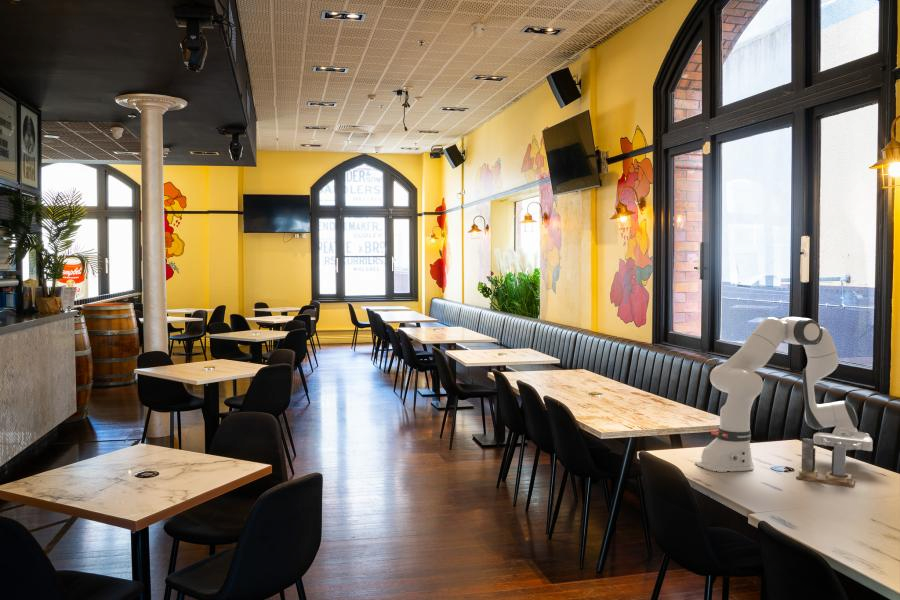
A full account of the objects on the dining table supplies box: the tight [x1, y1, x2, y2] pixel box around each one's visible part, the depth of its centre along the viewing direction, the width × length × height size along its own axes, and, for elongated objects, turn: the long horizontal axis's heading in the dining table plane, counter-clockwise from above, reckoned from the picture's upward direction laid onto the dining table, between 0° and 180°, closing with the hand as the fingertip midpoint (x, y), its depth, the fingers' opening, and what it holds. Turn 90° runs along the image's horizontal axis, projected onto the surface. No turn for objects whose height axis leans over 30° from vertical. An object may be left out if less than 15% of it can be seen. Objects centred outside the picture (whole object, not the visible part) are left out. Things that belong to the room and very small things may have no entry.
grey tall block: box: [831, 442, 847, 478], centre depth 258 cm, size 4×3×14 cm
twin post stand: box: [795, 438, 856, 488], centre depth 260 cm, size 18×9×14 cm, turn 57°
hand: (841, 445), depth 268 cm, fingers open, 8 cm apart
